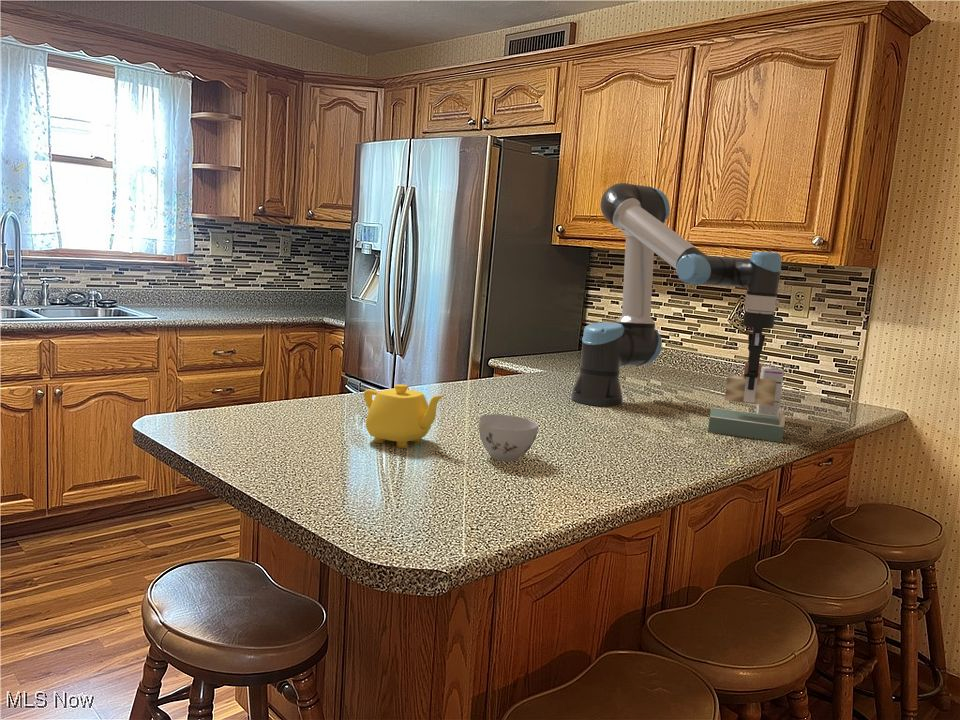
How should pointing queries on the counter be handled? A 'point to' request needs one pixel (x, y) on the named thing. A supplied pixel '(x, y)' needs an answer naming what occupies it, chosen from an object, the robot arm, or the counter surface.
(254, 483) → the counter surface
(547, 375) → the counter surface
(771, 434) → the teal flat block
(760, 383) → the tan rectangular block
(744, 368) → the orange cube
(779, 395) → the syrup box
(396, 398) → the teapot
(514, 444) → the teacup
